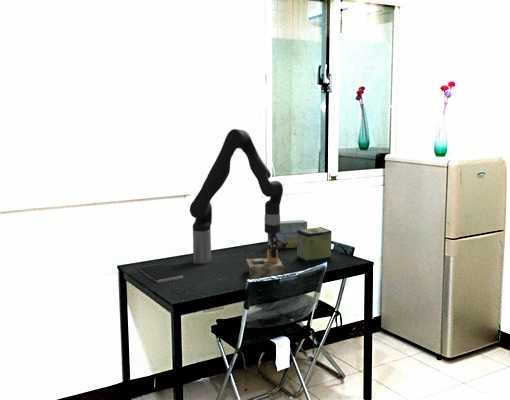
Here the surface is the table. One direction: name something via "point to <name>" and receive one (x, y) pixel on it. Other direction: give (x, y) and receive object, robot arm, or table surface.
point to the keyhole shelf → (263, 268)
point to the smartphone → (160, 273)
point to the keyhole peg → (269, 258)
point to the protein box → (313, 244)
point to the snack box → (289, 233)
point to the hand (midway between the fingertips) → (272, 255)
